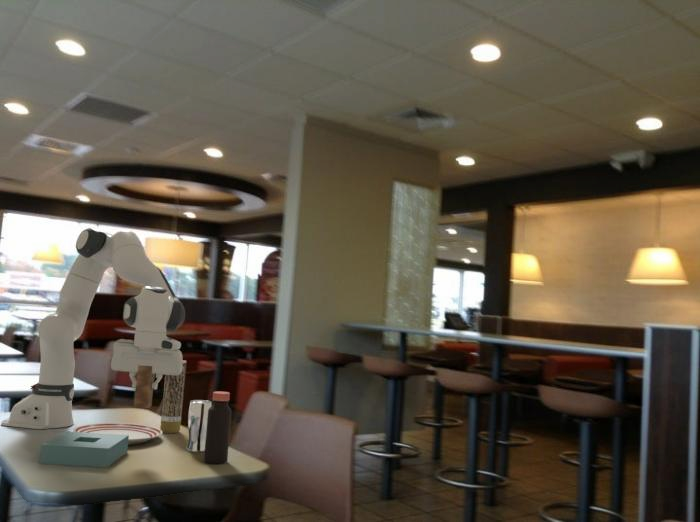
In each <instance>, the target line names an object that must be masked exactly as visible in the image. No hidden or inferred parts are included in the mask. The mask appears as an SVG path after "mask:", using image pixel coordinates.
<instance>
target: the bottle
mask: <svg viewBox="0 0 700 522" xmlns="http://www.w3.org/2000/svg"><path fill="white" fill-rule="evenodd" d="M230 396H231V393H230V392H229V391H222V390H220V391H218V390H217V391H213V392H212V398H211V399H212V402H213V403H212V404H211V407H210V408H209V410H208V418H207V429H206V441H205V451H204V455H203V461H204V462H205V463H206V464H211V465H222V464H223V465H224V464H226V463H227V462H228V457H229V456H228V455H229V446H230V445H229V443H230V434H231V422H232V421H231V420H232V411H233V410H232V409H231V407H230V405H229V402H230Z"/></svg>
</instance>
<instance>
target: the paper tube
mask: <svg viewBox="0 0 700 522" xmlns="http://www.w3.org/2000/svg"><path fill="white" fill-rule="evenodd" d="M186 370H187V360H185V359H184V360H183V368H182V372H181V374H179V375H165V377H164V384H163V385H164V386H163V395H162V396H163V397H162V404H161V405H162V407H161V417H160V428H159V429H160V430H162V432H163V433H162V434H164V433H165V434H177V433H179V432H181V423H182V415H183V414H182V412H183V405H184V404H183V401H184V391H185V390H184V389H185V381H186Z"/></svg>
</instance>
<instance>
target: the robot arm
mask: <svg viewBox="0 0 700 522" xmlns="http://www.w3.org/2000/svg"><path fill="white" fill-rule="evenodd" d="M75 249H76V252H77V253H78V255H77V257H76V259H75V260H74V262H73V263H72V265H71V266H70V269H69V272H68V274H67V276H66V278H65V280H64V283H63V285H62V287H61V289H60V291H59V299H58V302H57V307H56V310H55V312H53V313H50V314H48V315H47V316H45V317H43V319H42V320H40V322H39V324H38V326H37V333H38V336H39V351H40V366H39V375H38V382H37V383H34V384H33V385H31V386H30V390H31V394H29V395H27V396H26V397H25V398H23V399H21V400H19V401H18V402H17V403H15V404H14V405H13V407H12V408H11V411H10V413H9V418H5V419H3V420H2V421H1V426H6V427H15V428H25V429H31V430H32V429H35V430H47V429H58V428H66V427H67V428H68V427H70V426H73V425H74V417H73V405H72V404H73V403H72V401H73V398H74V394H75V384H74V380H75V379H74V377H75V370H76V369H75V368H76V367H75V366H76V359H75V358H76V357H75V349H74V348H75V347H74V342H75V341H77V340H78V339H79V338H80V337H81V335H82V334H83V332H84V330H85V325H86V322H87V318H88V316H89V312H90V308H91V305H92V303H93V300H94V298H95V295H96V294H97V291H98V289H99V287H100V284H101V282H102V280H103V276H104V274H105V272H106V271H107V270H108V269H109V268H112V269H113V271H114V273H115V274H116V275H117V276H118V277H119V278H120V279H122V280H123V281H126V282H129V283H132V284H135V285H140V286H142V289H141V290H140V293H139V294H138V295H136V296H132V297H130V298H129V299H127V300H126V301H125V302H124V303H123V310H122V320H123V321H124V322H125V324H126V325H127V326H128V327H131V328H135V331H134V337H133V338H134V339H125V338H120V339H118V340H116V341H115V342H114V343H113V346H112V351H113V354H112V356H111V361H110V363H111V364H110V368H111V370H112V371H115V372H128V373H129V375H128V376H129V378H130V381H131V383H132V384H131V388H132V389H136V381H137V378H136V377H135V376H137V373H138V365H141V366H152V374H155V379H156V380H154V383H151V389H153V391H155V390H157V389H158V385H159V383H160V381H161V380H162V378H163V376H164V375H179V374H181V372H182V368H183V353H182V351H181V350H180V349H181V347H182V343H181V341H178V340H177V339H173V338H171V337H168V335H167V331H168V332H174V331H176V330H177V329H179V328H180V327H181V326H182V325H183V323H184V322H185V319H186V309H185V307H184V305H183V303H182V302H181V301H180V299H179V298H178V297H177V296H176V294H175V292H174V290H173V288H172V287H171V285H170V283H169V281H168V279H167V278H166V275H165V274H164V272H163V271H162V269H160V267H158V266H157V265H155V264H154V263H153V261H151V259H149V257H148V255H147V253H146V252H145V248H144V245H143V244H142V241H141V240H140V238H139V236H138V235H137V234H136V233H135V232H133V231H131V230H129V229H128V230H126V229H125V230H120V231H117V232H116V233H114V234H112V233H109V232H106V231H103V230H101V229H99V228H94V227H88V228H86V229H84V230H82V231H81V232H80V234H79V235H78V236H77V239H76V243H75Z"/></svg>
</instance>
